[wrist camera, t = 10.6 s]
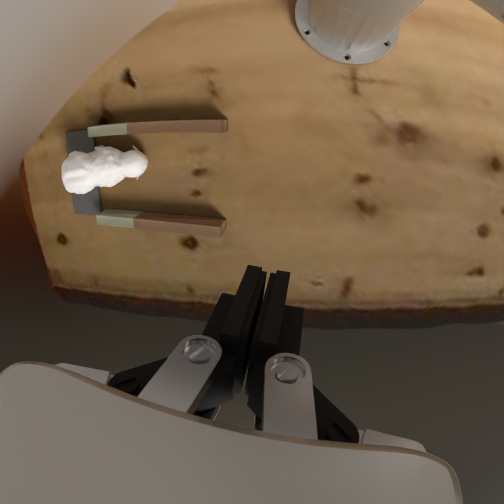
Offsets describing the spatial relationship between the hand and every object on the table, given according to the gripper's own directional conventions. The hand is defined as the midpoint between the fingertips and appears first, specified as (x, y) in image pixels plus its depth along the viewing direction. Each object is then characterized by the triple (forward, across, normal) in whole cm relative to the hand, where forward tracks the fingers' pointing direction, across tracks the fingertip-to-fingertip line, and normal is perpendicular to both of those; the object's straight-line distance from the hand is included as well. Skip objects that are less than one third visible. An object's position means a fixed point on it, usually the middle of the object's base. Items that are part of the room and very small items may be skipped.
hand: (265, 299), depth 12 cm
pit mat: (+28, +33, +4) cm, 44 cm away
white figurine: (+28, +26, +2) cm, 38 cm away
